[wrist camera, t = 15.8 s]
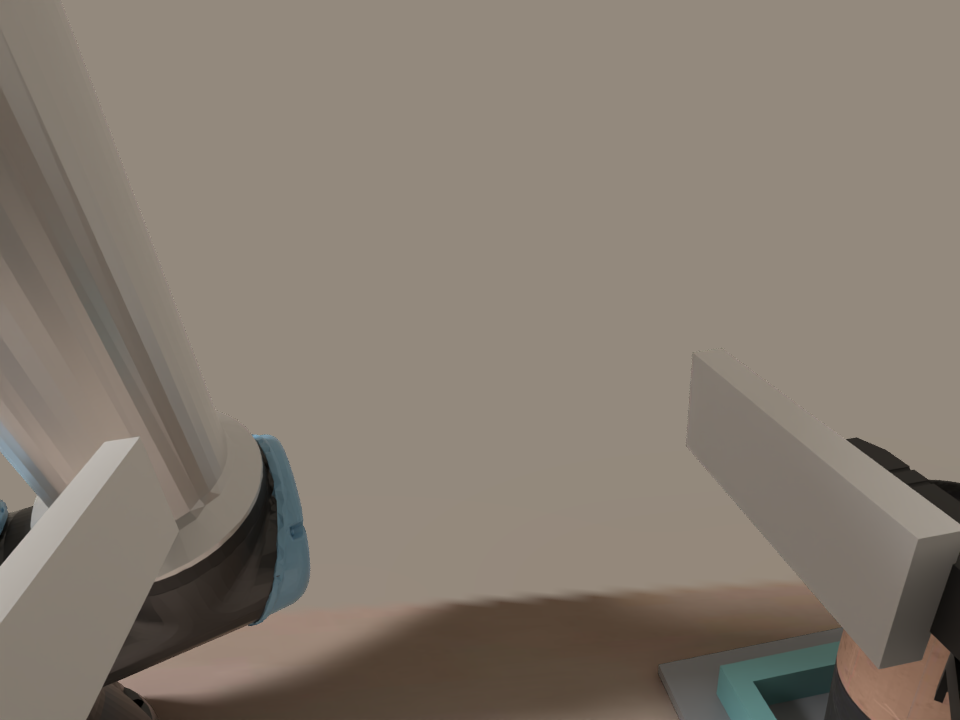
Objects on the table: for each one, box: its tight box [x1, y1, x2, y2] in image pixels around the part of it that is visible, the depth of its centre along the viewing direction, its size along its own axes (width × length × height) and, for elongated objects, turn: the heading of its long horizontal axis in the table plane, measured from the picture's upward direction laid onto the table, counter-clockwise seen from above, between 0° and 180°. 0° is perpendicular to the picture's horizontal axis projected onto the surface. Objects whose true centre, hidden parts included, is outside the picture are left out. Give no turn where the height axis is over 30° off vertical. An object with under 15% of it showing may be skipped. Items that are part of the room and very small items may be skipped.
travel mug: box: [824, 480, 960, 720], centre depth 31 cm, size 8×8×20 cm
